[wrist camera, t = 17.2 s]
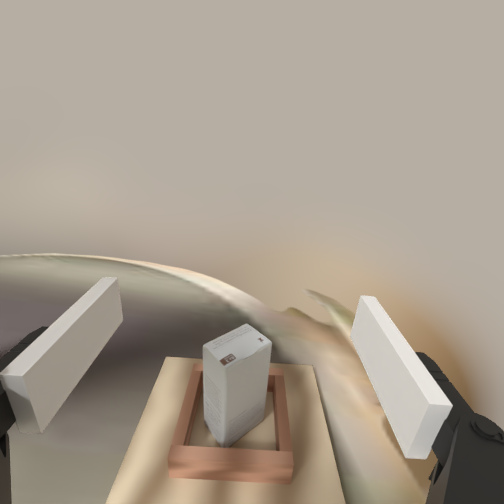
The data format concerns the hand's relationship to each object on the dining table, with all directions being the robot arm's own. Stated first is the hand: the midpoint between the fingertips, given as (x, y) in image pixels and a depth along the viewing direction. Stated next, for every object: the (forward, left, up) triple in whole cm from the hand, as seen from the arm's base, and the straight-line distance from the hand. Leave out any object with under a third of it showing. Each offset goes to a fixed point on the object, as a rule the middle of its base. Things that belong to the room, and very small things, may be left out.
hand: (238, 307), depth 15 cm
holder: (0, +10, -24) cm, 26 cm away
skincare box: (0, +10, -23) cm, 25 cm away
